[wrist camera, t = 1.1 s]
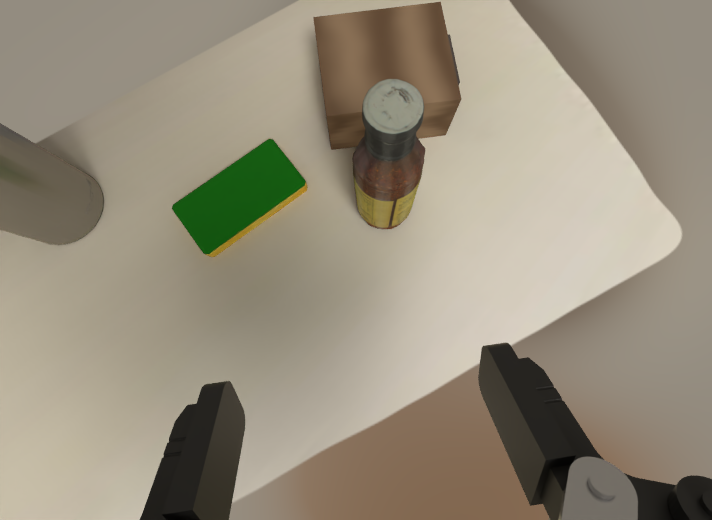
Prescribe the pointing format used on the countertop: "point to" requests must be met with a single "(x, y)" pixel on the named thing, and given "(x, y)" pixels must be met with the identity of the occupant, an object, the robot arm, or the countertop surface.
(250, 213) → the dish sponge
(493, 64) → the countertop surface
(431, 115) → the walnut box
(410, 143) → the sauce bottle
